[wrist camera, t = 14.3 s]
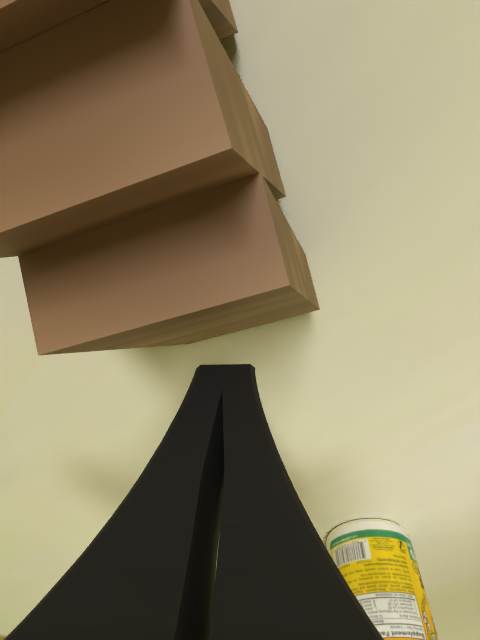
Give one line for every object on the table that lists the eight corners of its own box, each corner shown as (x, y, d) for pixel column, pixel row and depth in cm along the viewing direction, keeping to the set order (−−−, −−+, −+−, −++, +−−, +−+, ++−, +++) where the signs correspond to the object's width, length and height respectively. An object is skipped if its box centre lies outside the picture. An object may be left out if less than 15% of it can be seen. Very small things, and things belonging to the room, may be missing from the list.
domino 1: (286, 196, 13) (232, 148, 5) (137, 245, 14) (-91, 266, 6) (267, 128, 12) (179, -34, 5) (116, 183, 14) (-150, 126, 6)
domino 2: (319, 309, 15) (289, 285, 7) (188, 343, 16) (38, 355, 8) (305, 254, 15) (260, 172, 7) (176, 292, 16) (18, 255, 8)
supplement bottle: (336, 512, 26) (369, 726, 19) (421, 519, 26) (487, 733, 19) (316, 550, 30) (338, 745, 22) (392, 556, 30) (438, 750, 22)
